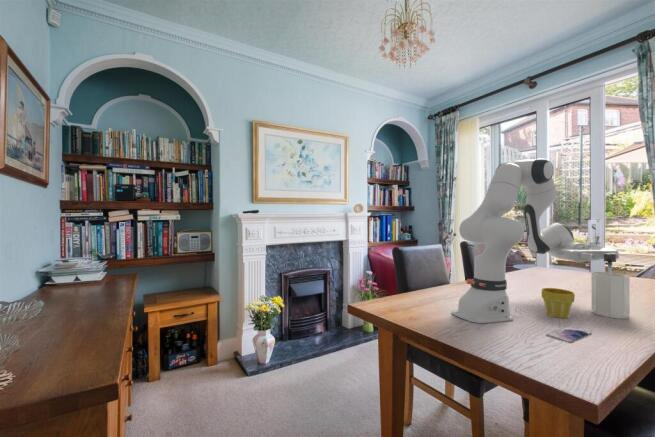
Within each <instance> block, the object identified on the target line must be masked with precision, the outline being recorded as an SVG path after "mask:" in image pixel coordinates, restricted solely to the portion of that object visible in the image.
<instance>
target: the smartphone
mask: <svg viewBox="0 0 655 437" xmlns="http://www.w3.org/2000/svg"><path fill="white" fill-rule="evenodd" d="M589 335H590V336H592V335H593V334H592V332H589V331H586V330H582V329H580V328H575V327H571V326H565V327H563V328H560V329H557V330H554V331H551V332H548V333H546V335H545V336H547V337H548V338H552V339H555V340H558V341H562V342H564V341H565V342H564V343H567V342H568V344H573V343H576V342H578V341H579V340H580V341H581V340H583V339H585V338H588V337H590V336H589ZM575 341H576V342H575Z"/></svg>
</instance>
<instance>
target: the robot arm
mask: <svg viewBox="0 0 655 437" xmlns="http://www.w3.org/2000/svg"><path fill="white" fill-rule="evenodd" d="M553 175H554V165H553V163H552V162H551V161H550V160H549V159H547V158H535V159H531V158H530V159H524V160H523V159H519V160H514V161H510V162H509V161H508V162H504V163H501V164H499V165H498V166H497V168H496V169H495V172H494V174H493V175H492V177H491V180H490V183H489V185H488V188H487V191H486V194H485V196H484V198H483V200H482V202H481V203H480V205H479V207H478V208H477V209H476V210H475V211H474V212H473V213H472V214H470V215H469V216H468V217H467V218H465V219H464V220H462V221H461V223H460V225H459V229H458V230H459V235H460V237H461V238H462V239H463V240H465V241H467V242H469V243H475V244H484V245H485V248H484V249H483V252H482V253H480V254H478V255H477V256H475V258H474V261H473V266H474V267H473V269H474V270H473V275H474V276H473V278H472V279H470V278H467V279H466V281H465V282H466V283H465V284H467V285H470V286H471V287H470V288H468V290H467V291H466V292H465V293H464V294H462V296H461V297H460V298H459V300H458V304H457V305H458V307H457V308H456V309H453V310H452V311H451V314H452V315H453V316H455V317H457V318H461V319H462V320H466V321H469V322H473V323H477V324H488V323H497V322H507V321H513V320H514V317H513V316H512V315H511V309H510V299H509V296H508V294H507V291H506V290H507V286H508V283H507V279H506V264H507V259H508V256H509V254H510V252H511V250H512V249H513V248H514V247H515V246H517V245H518V244H519V243H521V241H522V240H523V239H524V236H525V231H526V245H527V247H528V248H529V250H530V251H531V252H533V253H535V254H537V255H538V254H539V255H545V254H546V253H548V254H549V255H550V256H551V257H554V258H555V259H559V260H564V261H565V260H566V261H570V262H575V263H582V264H583V263H585V262H586V263H587V262H590V261H600V260H604V253H611V254H616V260H619V258H620V253H619V251H618V249H613V248H608V247H601V246H600V245H597V244H587V243H583V242H577V241H576V242H575V238H574V234H573V231H572V230H571V228H570V227H569V226H568V225H565V224H564V223H560V222H553V223H552V224H550V225H548V226H546V227H544V228H542V229H541V227H540V225H541V224H540V219H541V216H542V215H543V214H544V212H545V211H546V210H547V209H548V208H549V207H550V206H551V205H553V204H554V202H555V201H556V199H557V195H558V192H557V186H556V184H555V181H554V178H553ZM521 186H522V187H523V186H524V189H525V192H526V203H525V206H524V207H523V216H524V221H525V222H524V223H525V227H524V225H523V223H522V222H521V221H520V220H518V219H515V218H513V217H508V216H507V217H505V215H506V214H508V213H510V212H511V211H512V210H513V209H514V208H515V207H514V206H515V205H516V204H515V203H516V201H517V198H518V195H519V192H520V189H521ZM525 228H526V230H525Z"/></svg>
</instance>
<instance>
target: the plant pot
mask: <svg viewBox="0 0 655 437" xmlns="http://www.w3.org/2000/svg"><path fill="white" fill-rule="evenodd" d="M541 298H542V299H543V302H544V306H545V311H546V314H547V315H548V316H550V317H551V318H552V317H553V318H558V319H568V318H569V315H570V311H571V307H572V305H573V303H574V302H575V292H573V291H571V290H567V289H563V288H554V287H544V288H542V289H541Z"/></svg>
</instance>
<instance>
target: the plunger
mask: <svg viewBox="0 0 655 437" xmlns="http://www.w3.org/2000/svg"><path fill="white" fill-rule="evenodd" d="M603 262H606V263H607V272H608V276H612V273H613V263H616V262H617V259H616V254H611V253H604V259H603Z"/></svg>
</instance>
